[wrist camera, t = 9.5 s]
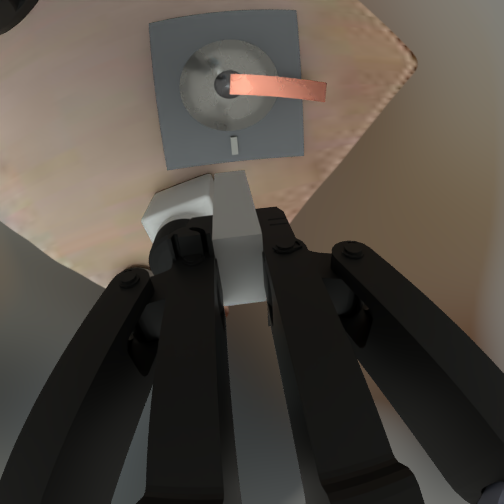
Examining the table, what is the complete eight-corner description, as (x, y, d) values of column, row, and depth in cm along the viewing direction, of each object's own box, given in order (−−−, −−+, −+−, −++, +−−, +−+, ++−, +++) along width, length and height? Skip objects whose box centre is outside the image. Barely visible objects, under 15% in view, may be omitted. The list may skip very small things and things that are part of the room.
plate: (151, 25, 23) (147, 22, 21) (293, 13, 24) (297, 8, 22) (169, 166, 33) (166, 172, 31) (300, 153, 34) (305, 157, 32)
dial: (181, 128, 29) (174, 136, 25) (183, 43, 24) (177, 35, 19) (306, 132, 31) (320, 140, 26) (313, 50, 25) (329, 45, 21)
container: (177, 242, 39) (164, 308, 28) (153, 193, 35) (125, 247, 24) (231, 224, 38) (237, 288, 27) (210, 171, 34) (206, 218, 23)
